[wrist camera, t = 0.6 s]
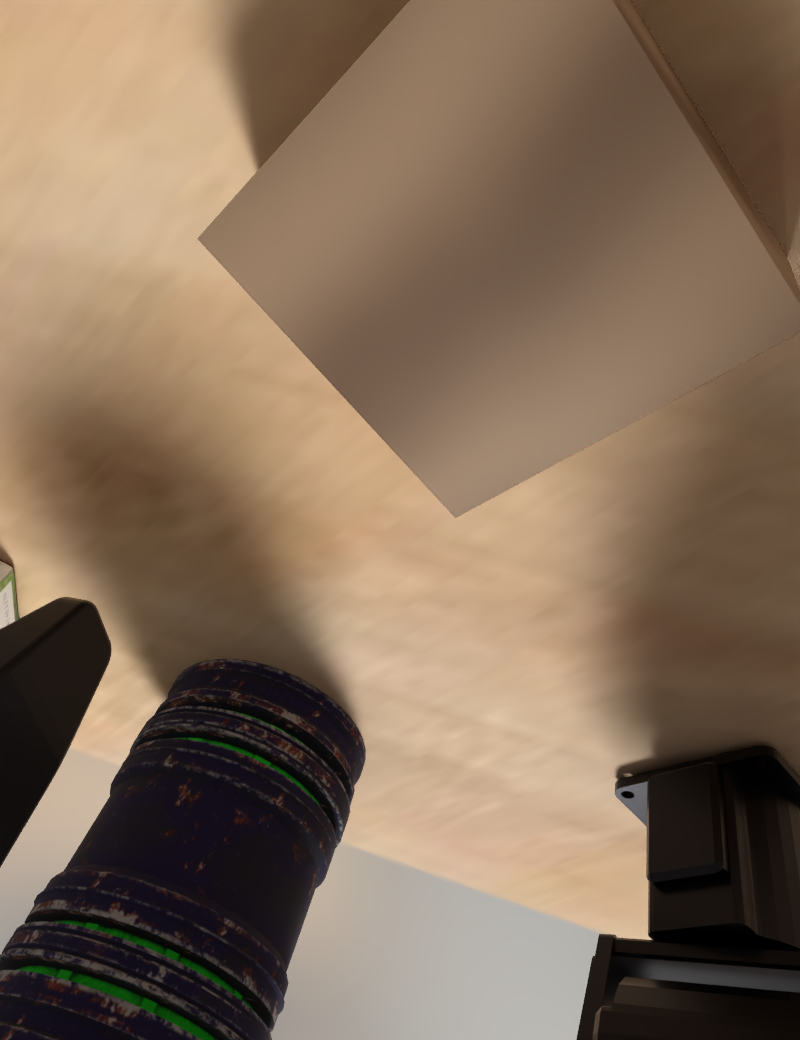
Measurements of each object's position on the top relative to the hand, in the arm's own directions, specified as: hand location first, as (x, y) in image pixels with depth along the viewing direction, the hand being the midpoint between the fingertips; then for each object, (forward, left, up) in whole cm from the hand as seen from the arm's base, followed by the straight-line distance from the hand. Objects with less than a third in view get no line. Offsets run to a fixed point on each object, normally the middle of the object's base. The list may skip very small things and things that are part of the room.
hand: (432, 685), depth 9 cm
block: (+2, 0, -13) cm, 14 cm away
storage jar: (-9, +23, -13) cm, 28 cm away
